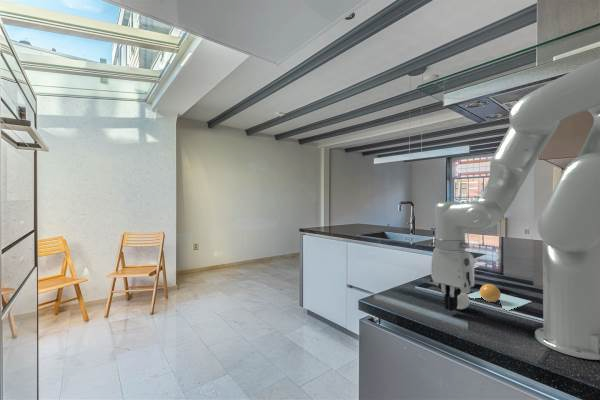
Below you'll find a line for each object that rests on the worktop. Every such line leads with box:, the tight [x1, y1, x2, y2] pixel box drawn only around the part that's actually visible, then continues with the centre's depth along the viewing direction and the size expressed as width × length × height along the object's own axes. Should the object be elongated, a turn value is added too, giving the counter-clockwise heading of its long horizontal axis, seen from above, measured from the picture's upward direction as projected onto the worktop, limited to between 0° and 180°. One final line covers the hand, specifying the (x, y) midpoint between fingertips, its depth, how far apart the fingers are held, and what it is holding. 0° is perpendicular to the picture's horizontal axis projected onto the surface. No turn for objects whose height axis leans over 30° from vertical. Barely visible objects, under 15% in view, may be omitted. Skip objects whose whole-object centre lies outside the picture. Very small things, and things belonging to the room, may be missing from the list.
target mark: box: [466, 290, 533, 312], centre depth 92 cm, size 14×14×1 cm
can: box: [468, 252, 475, 289], centre depth 108 cm, size 6×6×12 cm
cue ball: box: [456, 293, 471, 310], centre depth 85 cm, size 6×6×6 cm
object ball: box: [479, 283, 501, 302], centre depth 91 cm, size 6×6×6 cm
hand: (450, 308), depth 82 cm, fingers closed
